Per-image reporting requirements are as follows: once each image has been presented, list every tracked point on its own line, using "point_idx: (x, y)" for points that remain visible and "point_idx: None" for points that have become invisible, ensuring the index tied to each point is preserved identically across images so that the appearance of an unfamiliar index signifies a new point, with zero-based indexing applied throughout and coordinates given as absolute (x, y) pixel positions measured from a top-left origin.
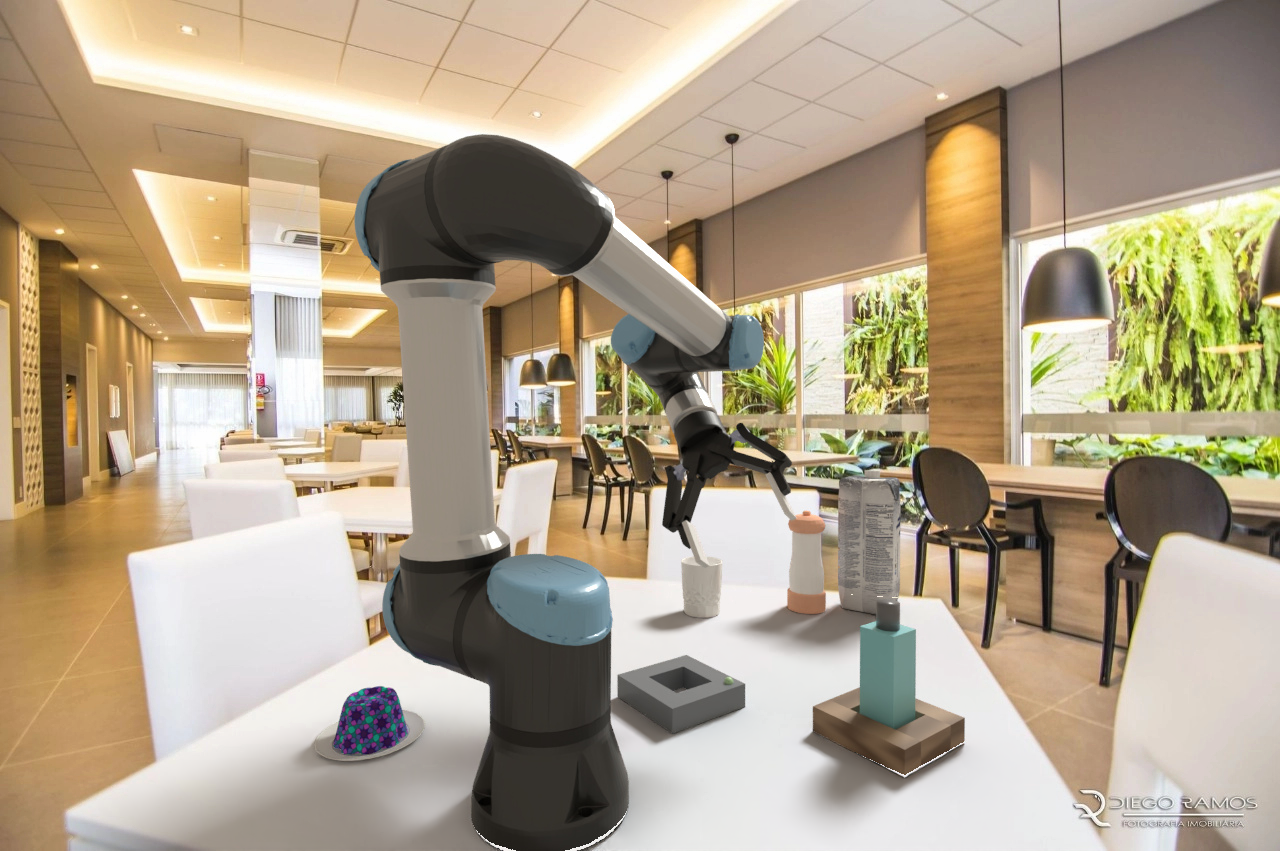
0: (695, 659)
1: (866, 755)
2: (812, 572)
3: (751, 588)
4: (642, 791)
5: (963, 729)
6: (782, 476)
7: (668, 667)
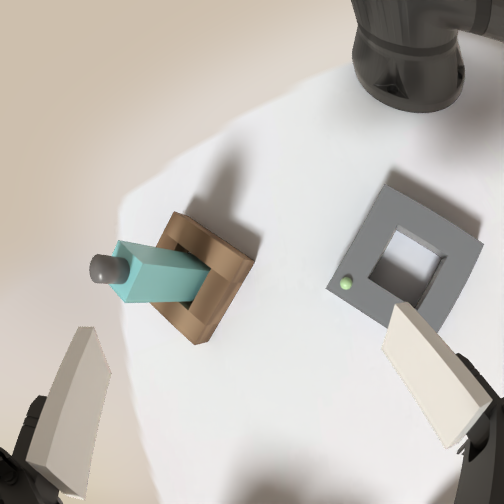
0: None
1: (209, 231)
2: None
3: None
4: (363, 103)
5: None
6: (19, 436)
7: (435, 297)
